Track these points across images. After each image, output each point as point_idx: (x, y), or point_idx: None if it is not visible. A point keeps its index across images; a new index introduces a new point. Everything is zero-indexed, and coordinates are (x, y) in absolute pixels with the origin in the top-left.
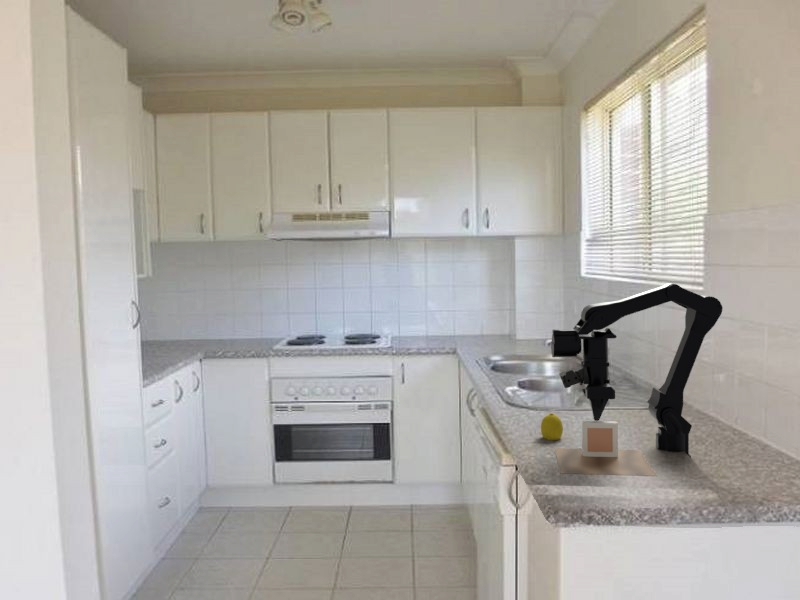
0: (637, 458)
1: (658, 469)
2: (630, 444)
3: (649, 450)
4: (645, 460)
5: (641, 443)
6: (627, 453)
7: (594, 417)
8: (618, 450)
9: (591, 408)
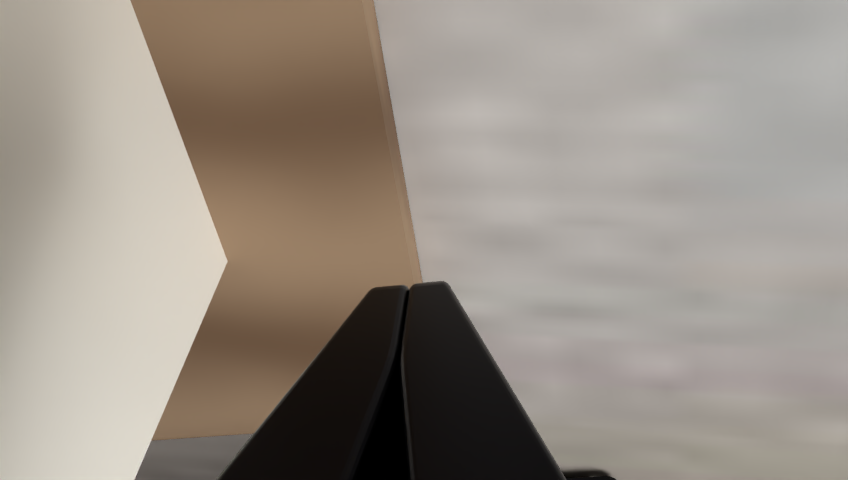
0: (189, 392)
1: (165, 446)
2: (784, 340)
3: (606, 437)
4: (164, 431)
5: (806, 408)
6: (305, 339)
7: (346, 334)
8: (383, 279)
9: (489, 449)
